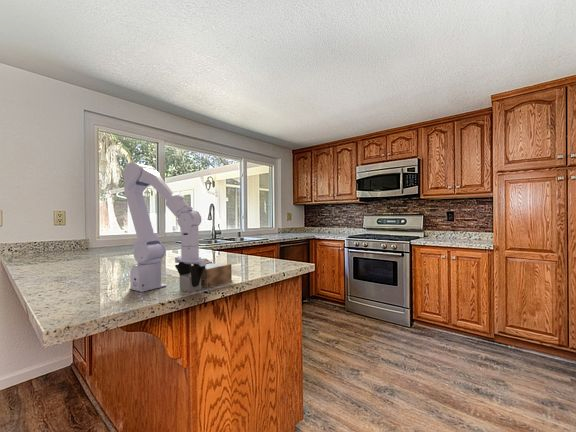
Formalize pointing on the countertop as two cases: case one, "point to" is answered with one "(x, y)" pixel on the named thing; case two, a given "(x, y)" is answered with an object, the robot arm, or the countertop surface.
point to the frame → (216, 275)
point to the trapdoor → (211, 266)
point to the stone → (188, 283)
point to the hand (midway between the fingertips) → (190, 285)
